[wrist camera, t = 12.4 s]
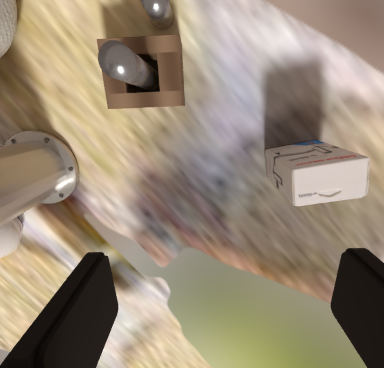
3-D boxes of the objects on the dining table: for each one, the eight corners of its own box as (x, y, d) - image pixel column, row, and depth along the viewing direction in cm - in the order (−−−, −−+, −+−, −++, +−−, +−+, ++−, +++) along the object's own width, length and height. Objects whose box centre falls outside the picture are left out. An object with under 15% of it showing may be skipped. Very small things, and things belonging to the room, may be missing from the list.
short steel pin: (152, 30, 30) (141, 13, 25) (150, 4, 29) (138, -21, 24) (173, 29, 30) (167, 11, 24) (172, 2, 29) (165, -23, 23)
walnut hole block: (120, 108, 34) (108, 108, 29) (112, 49, 31) (96, 39, 26) (184, 105, 33) (182, 105, 29) (181, 45, 31) (178, 34, 26)
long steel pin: (138, 68, 32) (95, 40, 19) (158, 67, 32) (129, 38, 19) (140, 90, 33) (101, 79, 20) (160, 89, 33) (134, 77, 20)
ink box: (318, 139, 34) (374, 154, 23) (318, 168, 36) (370, 196, 25) (263, 149, 35) (292, 168, 24) (265, 177, 37) (294, 208, 26)
